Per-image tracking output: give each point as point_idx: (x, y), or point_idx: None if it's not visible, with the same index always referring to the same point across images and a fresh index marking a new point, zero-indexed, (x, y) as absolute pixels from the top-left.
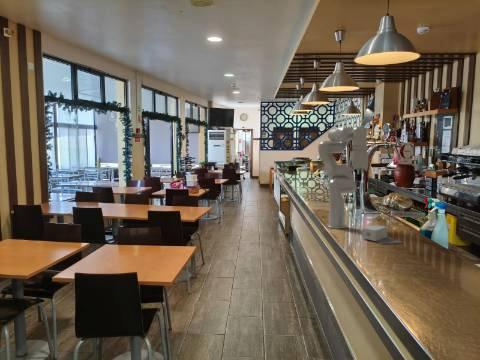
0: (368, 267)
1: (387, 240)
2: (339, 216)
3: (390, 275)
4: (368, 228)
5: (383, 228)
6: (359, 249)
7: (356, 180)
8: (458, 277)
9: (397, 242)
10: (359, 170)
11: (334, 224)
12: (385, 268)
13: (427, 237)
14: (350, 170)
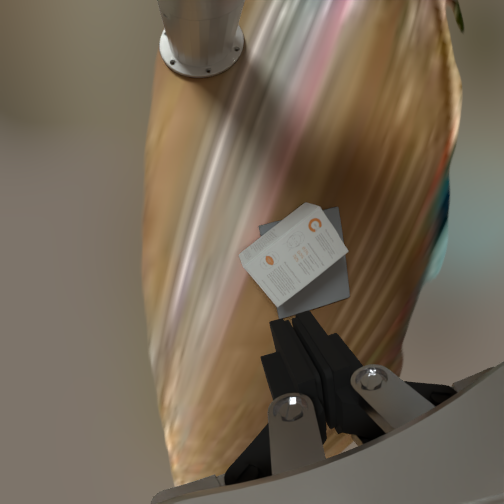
0: (182, 453)
1: (314, 279)
2: (203, 48)
3: (209, 472)
4: (263, 279)
5: (325, 269)
6: (191, 363)
7: (272, 333)
8: None
9: (332, 302)
10: (384, 425)
11: (182, 60)
12: (212, 455)
13: (436, 230)
14: (160, 495)
